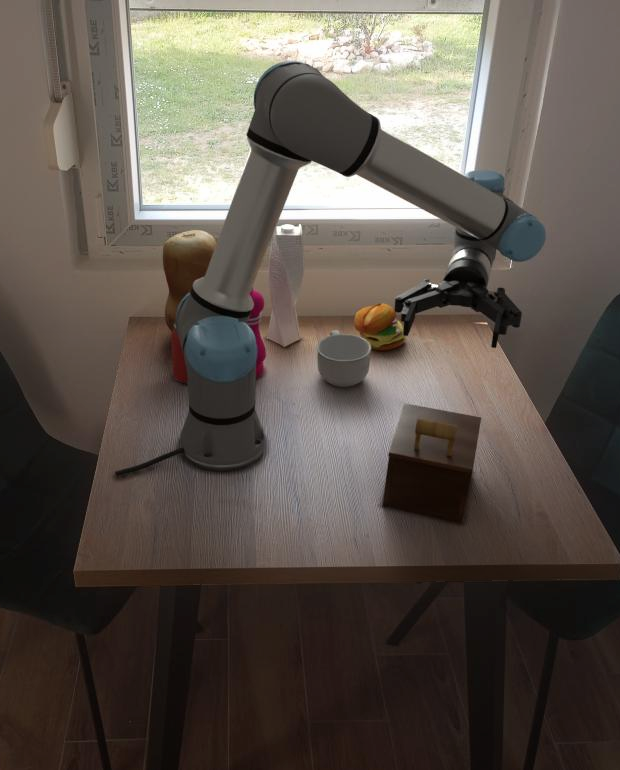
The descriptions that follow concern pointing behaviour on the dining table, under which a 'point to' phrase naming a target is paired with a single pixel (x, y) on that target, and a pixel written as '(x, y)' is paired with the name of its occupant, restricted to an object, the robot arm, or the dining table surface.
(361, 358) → the teacup
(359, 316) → the cheeseburger
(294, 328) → the skyscraper
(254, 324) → the pepper mill
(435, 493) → the caddy
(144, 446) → the dining table surface
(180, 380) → the beer can
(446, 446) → the lid
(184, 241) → the butternut squash
